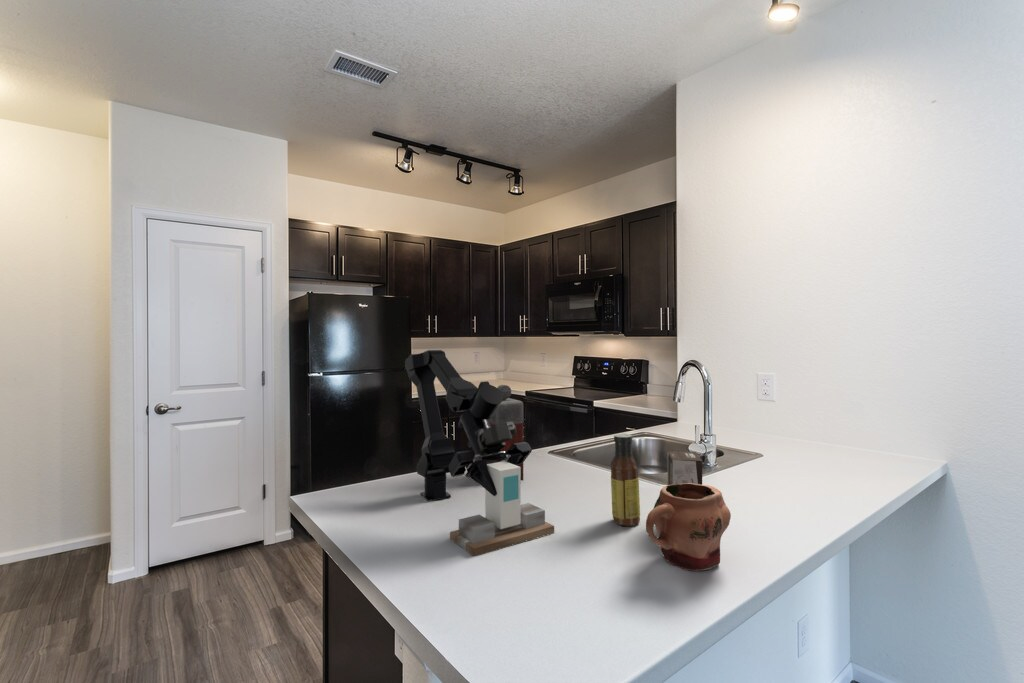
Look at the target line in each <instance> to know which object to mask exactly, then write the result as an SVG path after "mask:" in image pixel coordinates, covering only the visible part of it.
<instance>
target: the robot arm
mask: <svg viewBox="0 0 1024 683" xmlns="http://www.w3.org/2000/svg"><path fill="white" fill-rule="evenodd" d="M404 367H405V368H404V369H405V370H406V373H407V377H408V378H409V379H408V380H410V382H411V383H412V384H414V386H415V387H416V392H417V397H418V402H419V403H418V404H419V408H420V413H421V420H422V424H423V431H424V436H425V437H424V438H425V439H424V441H423V444H422V447H421V456H420V458H419V460H418V462H417V464H416V466H415V468H416V474H417V475H419V476H421V477H422V478H424V480H423V481H424V491H422V492H419V495H420V496H422V497H423V499H425V500H426V501H428V502H430V501H436V500H442V499H448V498H451V497H452V495H451V494H450V493H449V492H448V491H447V474H450V476H451V477H460V476H463V475H464V476H465V477H466V478H468V479H469V478H470V479H471V480H473V481H474V482H476V483H477V484H478V485H480V486H481V487H483V489H486V490H487V491H488V492H489V493H491V494H492V495H493V496H496V495H497V491H496V488H495V485H494V483H493V481H492V479H491V476H490V474H489V472H488V469H487V463H490V462H496V461H501V462H503V461H506V462H508V463H511V464H514V465H516V466H517V465H520V464H522V463H523V464H524V462H525V461H526V460H527V459H528V457H529V455H530V454H531V453H532V451H533V450H532V448H531V445H530V444H529V443H528V442H525V441H523V442H520V443H514V444H512V445H511V447H510V448H509V449H508V451H502V450H501V449H502V448H504V447H505V445H506V444H505V442H506V441H508V440H511V439H512V437H513V436H515V435H516V434H517V430H516V427H515V425H514V423H513V422H506V424H503V425H500V426H493V427H491V426H490V424H489V422H488V420H487V419H490V418H492V417H493V415H494V413H495V412H496V410H497V409H498V407H499V406H500V404H501V402H502V401H503V393H502V392H501V391H500V390H499V389H498V388H497V387H496V386H494V385H492V384H490V381H488V380H487V381H480V382H479V385H478V387H477V386H476V385H475V384H474V383H472V382H471V381H468V380H467V379H464V378H462V376H461V375H460V373H459V372H458V371H457V370H456V368H455V367H454V366H453V364H452V363H451V362H450V361H449V359H448V357H446V353H445V351H444V350H441V349H427V350H425V351H423V352H420V353H411V354H409V356H408V357H406V358H405V361H404ZM436 378H437V380H438V381H439V383H440V384H441V385H442V387H443V389H444V390H445V392H446V393H445V394H446V395H445V401H446V403H447V406H448V407H449V409H450V411H452V412H453V413H454V412H455V413H458V412H463V413H462V414H461V415H460V417H459V421H458V423H457V424H458V426H457V427H458V428H459V429H460V428H461V429H462V428H463V429H464V431H465V434H466V436H467V438H468V442H467V446H468V449H467V450H461V451H455V447H454V441H453V438H451V437H447V435H446V434H445V433H444V429H443V428H444V427H443V424H442V418H441V413H440V408H439V403H438V397H437V392H436V387H435V380H436ZM469 448H472V450H471V449H469ZM465 473H466V474H465Z"/></svg>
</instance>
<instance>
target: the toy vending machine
mask: <svg viewBox="0 0 1024 683" xmlns="http://www.w3.org/2000/svg"><path fill="white" fill-rule="evenodd" d="M496 388H498V389H499V390H500V391H501V392H502V393H503V401H502V402H501V404H500V406H499V407H498V409H497V410H496V412H495V413H494V415H493V417H492V418H490V419H487V420H488V422H489V424H490V426H491V427H493V426H500V425H503V424H506V422H513V423H514V425H515V427H516V430H517V434H516V435H515V436H513V437H512V439H511V440H508V441H506V442H505V444H506V445H505V447H504V448H502V449H501V450H502V451H508V449H509V448H510V447H511V445H512V444H514V443H520V442H524V402H523V401H521V400H518V399H515V398H510V397H511V396H512V389H511V387H510V385H506V384H499V385H498V386H497V387H496ZM497 462H501V461H496V462H490V463H487V464H491V463H497ZM517 466H519V467H521V481H524V462H523V463H522V464H520V465H517Z"/></svg>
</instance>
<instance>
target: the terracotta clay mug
mask: <svg viewBox="0 0 1024 683" xmlns="http://www.w3.org/2000/svg"><path fill="white" fill-rule="evenodd" d="M731 517H732V516H731V511H730V509H729V508H728V506H727V503H726V502H725V500H724V497H723V493H722V492H721V490H719V489H718V488H716V487H714V486H711V485H708V484H702V485H700V484H693V483H684V484H673V485H668V484H667V485H665V486H663V487H661V490H660V491H659V496H658V497H657V499H656V501H655V503H654V507H653V508H652V509H651V510H650V511H649V513H648V514H647V516H646V521H645V532H646V533H647V535H648V537H649V538H650V540H651V541H652V542H654V543H655V545H657V546H659V547H660V551H661V553H662V556H663V558H664V559H665V560H666V561H667V562H668V563H669V564H671V565H673V566H676V567H678V568H681V569H684V570H688V571H698V572H699V571H705V570H706V571H707V570H711V569H713V568H715V567H717V566H718V565H720V564H721V539H722V536H723V534H724V532H726V530H727V529H728V527H729V525H730V522H731ZM654 527H655V529H656V533H657V534H658V536H656V535H655V532H654Z"/></svg>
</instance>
